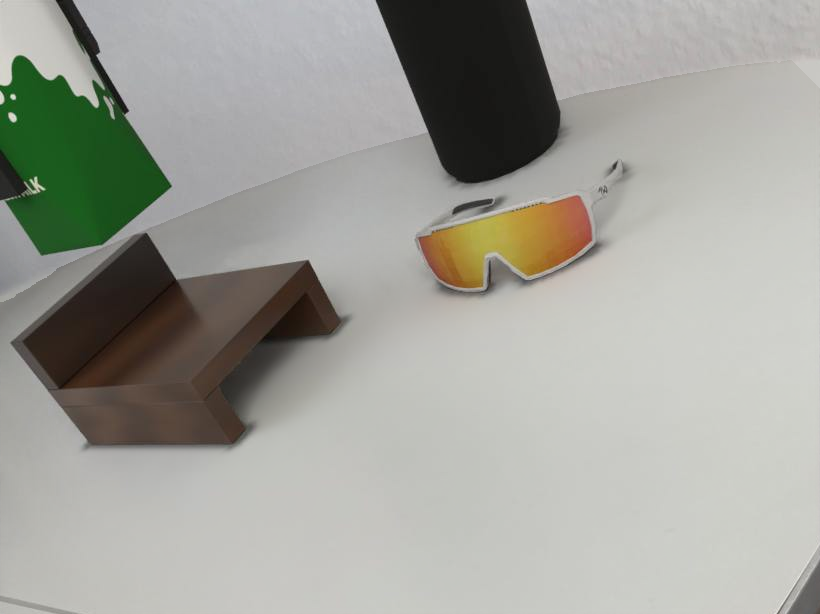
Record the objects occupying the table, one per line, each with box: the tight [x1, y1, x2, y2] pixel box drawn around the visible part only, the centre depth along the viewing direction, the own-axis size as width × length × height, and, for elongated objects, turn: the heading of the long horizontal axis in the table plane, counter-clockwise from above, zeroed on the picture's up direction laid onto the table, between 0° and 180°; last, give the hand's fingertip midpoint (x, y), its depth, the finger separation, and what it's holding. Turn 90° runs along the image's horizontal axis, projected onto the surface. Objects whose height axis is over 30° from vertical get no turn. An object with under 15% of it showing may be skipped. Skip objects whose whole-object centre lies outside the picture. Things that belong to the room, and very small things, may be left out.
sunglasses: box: [414, 158, 624, 293], centre depth 69 cm, size 14×15×5 cm
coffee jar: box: [374, 0, 562, 184], centre depth 77 cm, size 11×11×18 cm
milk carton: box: [0, 0, 173, 256], centre depth 59 cm, size 9×9×20 cm
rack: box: [10, 232, 342, 445], centre depth 71 cm, size 16×14×9 cm
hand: (64, 155), depth 62 cm, fingers closed on milk carton, 9 cm apart
